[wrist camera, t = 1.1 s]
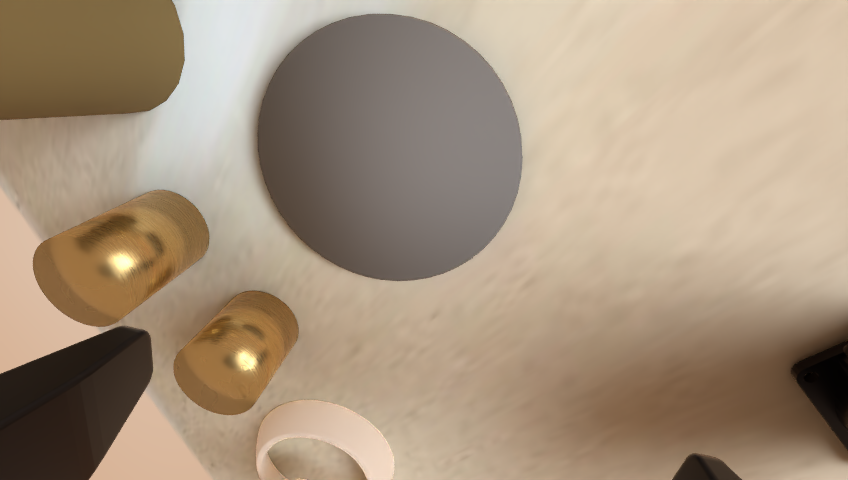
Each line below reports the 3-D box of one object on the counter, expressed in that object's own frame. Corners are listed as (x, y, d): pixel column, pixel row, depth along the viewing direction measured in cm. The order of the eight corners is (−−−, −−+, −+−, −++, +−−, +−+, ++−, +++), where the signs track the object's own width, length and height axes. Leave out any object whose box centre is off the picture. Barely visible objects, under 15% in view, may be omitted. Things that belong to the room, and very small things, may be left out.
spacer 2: (313, 331, 22) (275, 390, 19) (267, 366, 24) (223, 427, 20) (257, 276, 22) (206, 327, 18) (212, 316, 23) (157, 370, 19)
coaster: (578, 177, 17) (580, 182, 17) (384, 313, 21) (381, 321, 21) (393, -58, 15) (389, -61, 15) (216, 141, 19) (208, 144, 19)
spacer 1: (224, 235, 21) (146, 293, 16) (180, 278, 22) (97, 342, 18) (161, 173, 20) (61, 216, 16) (119, 222, 22) (17, 274, 17)
